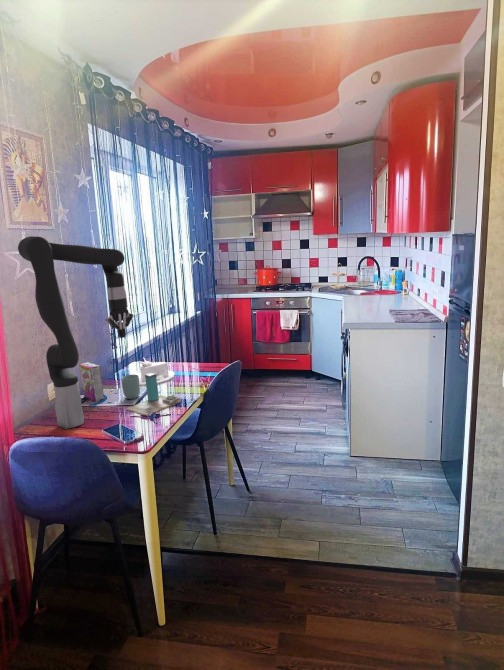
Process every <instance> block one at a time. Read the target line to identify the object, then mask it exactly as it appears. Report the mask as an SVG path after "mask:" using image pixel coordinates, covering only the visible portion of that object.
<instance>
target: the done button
mask: <svg viewBox="0 0 504 670" xmlns="http://www.w3.org/2000/svg"><path fill="white" fill-rule="evenodd" d="M175 396H176V395H175V394H174V393H170V394H167V395H166V397H167V398H168V400H173V399H175Z"/></svg>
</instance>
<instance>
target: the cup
mask: <svg viewBox="0 0 504 670" xmlns="http://www.w3.org/2000/svg"><path fill="white" fill-rule="evenodd" d="M120 381H121V386H122V387H121V388H122V392H123V397H125V398H126V399H128V400H133V399H132V398H134V399H136V397H137V398H138V397H139V396H140V393H141V386H140V382H139V376H138V375H133V374H126V375H124V376H122V377H121V380H120Z"/></svg>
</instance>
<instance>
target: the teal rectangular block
mask: <svg viewBox="0 0 504 670" xmlns="http://www.w3.org/2000/svg"><path fill="white" fill-rule="evenodd" d="M145 379H146V386H145V387H146V395H147V400H148V401H150V402H155V401H157V400H159V397H158V396H159V390H158V388H159V387H158V384H157V379H156V374H155V373H149V374H146V375H145Z"/></svg>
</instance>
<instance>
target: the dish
mask: <svg viewBox="0 0 504 670" xmlns="http://www.w3.org/2000/svg"><path fill="white" fill-rule="evenodd" d="M142 358H143V360H144V362H143V361H141V360H139V361H138V363H139V366H140V367H139V368H140V371H139V372H136V373H135V372H134V373H133V374H132V375H138V376H139V382H140V387H146V379H145V375H146V374H149V373H155V374H156V379H157V385H161V384H163V383H167V382H170V381H172V380H174V378H175V375H176V374H175V372H174V371H172V370H169V367H168V362H157V363H156V362H155V363H153V362H151V361H148V360H146V358H145V357H144V356H143V357H142Z"/></svg>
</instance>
